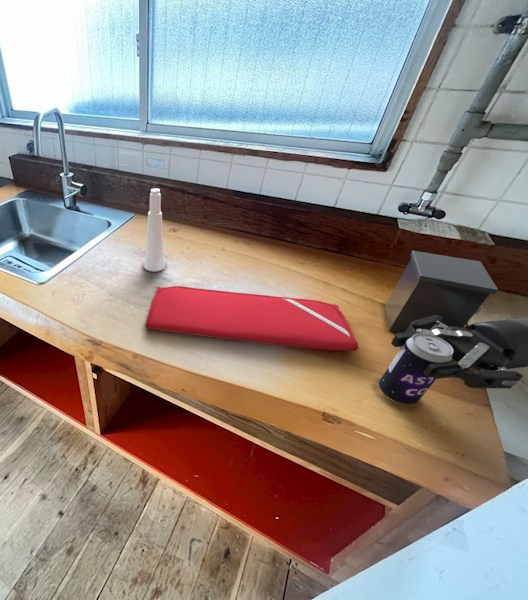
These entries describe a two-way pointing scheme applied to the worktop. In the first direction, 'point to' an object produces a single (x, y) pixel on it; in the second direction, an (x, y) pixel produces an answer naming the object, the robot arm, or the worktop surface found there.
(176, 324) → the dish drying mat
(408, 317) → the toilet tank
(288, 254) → the worktop surface
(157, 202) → the cosmetic bottle
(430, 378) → the beverage can
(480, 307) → the flush button
